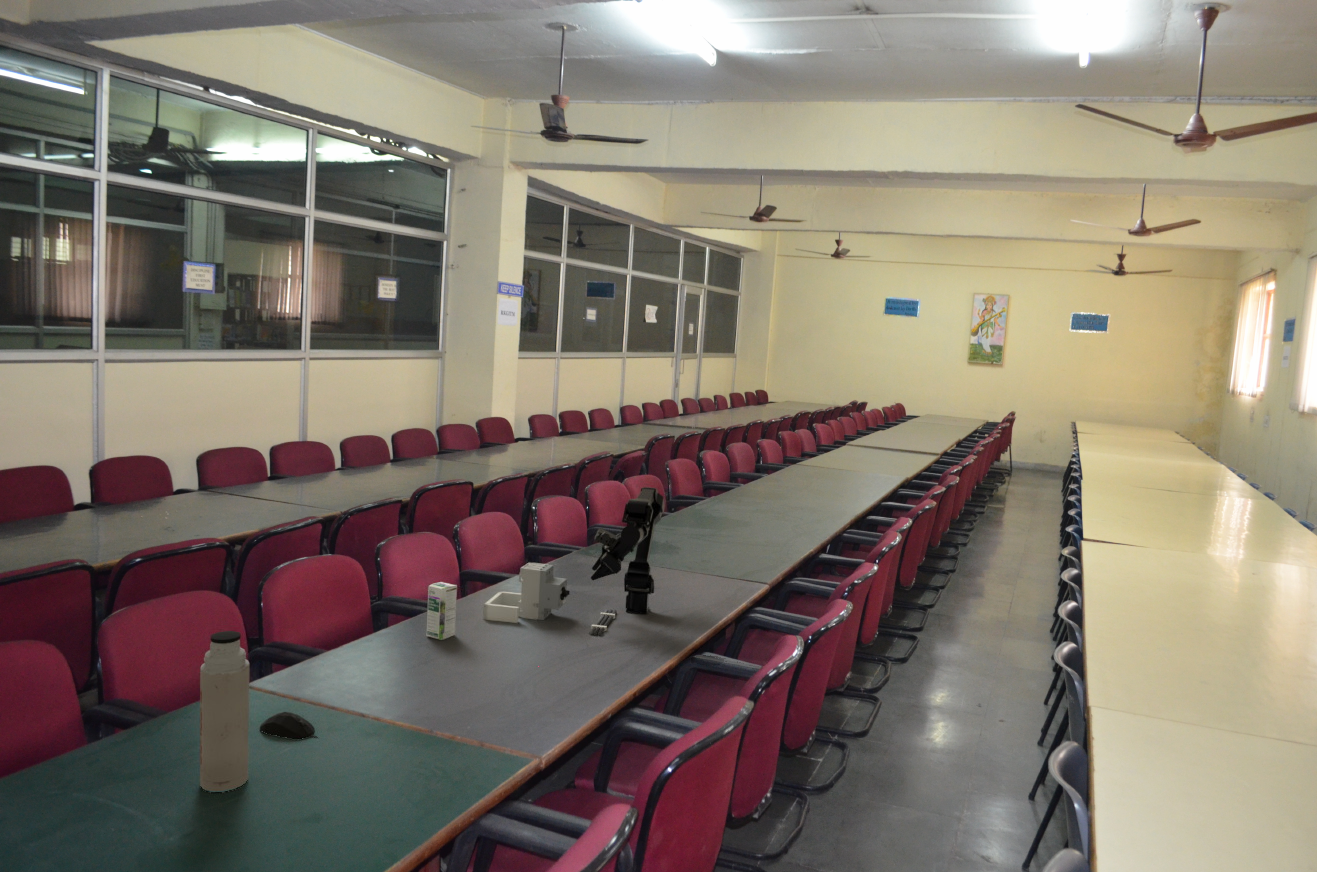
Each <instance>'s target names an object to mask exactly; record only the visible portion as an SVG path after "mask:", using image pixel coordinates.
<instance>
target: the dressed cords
mask: <svg viewBox="0 0 1317 872" xmlns="http://www.w3.org/2000/svg"><path fill="white" fill-rule="evenodd" d="M617 613H618V611H617V610H616V609H614V610H613V609H607V608H606V609H605V610H604V611H603V612H600V613H599V614H600V615H599V616H600V617H599V618H598V619H597V620H596V622H595V623H594V624H591V626H590V630H589V631H588V634H589V636H591V635H593V636H599V637H600V636H602V634H603V633H604V632H606V631H608V630H607V629H608V628H607V627H608V626H609V624H611V621H612V620H614V619H615V618H616V614H617Z"/></svg>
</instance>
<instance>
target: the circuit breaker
mask: <svg viewBox="0 0 1317 872" xmlns="http://www.w3.org/2000/svg"><path fill="white" fill-rule="evenodd" d="M554 567H555V566H554V564H548V563H540V562H539V563H538V562H530V561H529V562H528V563H526V564H525V565H523V566H521V567H520V569H519V570H520V571H519V574H518V583H521V588H520V589H521V591H520V593H521V600H520V601H519V602H518V607H519V613H518V618H522V619H528V620H537V619H538V620H540V621H544V620H545V619H546V618H547V617H548V616H549V615H551V614H552V610H557V611H558V610H559V609H560V608H562V606H564V605H565V604H566V602H567V597H568V596H570V590H567V585H568V578H566V577H565V578H563V577H562V578H561V577H555V576H554Z"/></svg>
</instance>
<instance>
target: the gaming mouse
mask: <svg viewBox="0 0 1317 872" xmlns="http://www.w3.org/2000/svg"><path fill="white" fill-rule="evenodd" d="M259 730H260V732H261V731H263V732H265V733H267V734H271V735H277V736H280V737H279V738H281V737H287V738H292V739H301V740H303V739H302V738H305V739H307V738H306V737H308V738H309V737H311V738H313V737H316V738H315V739H319V738H318V737H319V736H317V735H315V731H316V729H315V727H314V726H313V725H312V723H310V721H308V720H307V719H306V718H303V717H302V716H300V715H299V714H295V713H293V712H289V711H283V712H277V713H276V714H274V715H273V716H271V717H269V718H267V719H266V720H264V721H263V722H262V723H261V724H260V726H259ZM267 734H266V735H267ZM271 735H270V736H271ZM292 739H291V740H292Z"/></svg>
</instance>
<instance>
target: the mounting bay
mask: <svg viewBox="0 0 1317 872" xmlns="http://www.w3.org/2000/svg"><path fill="white" fill-rule="evenodd" d="M520 600H521V592H511V591H503V590H502V591H501V590H500V591H498V592H497V593H496V594H495V595H494V596H492V597H491V598H490V599H488V600H487V601H486V602H485V603H483V616H482V618H483V619H482V620H487V621H495V622H503V623H514V624H518V623H519V617H518V613H519V607H518V602H519V601H520Z"/></svg>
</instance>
